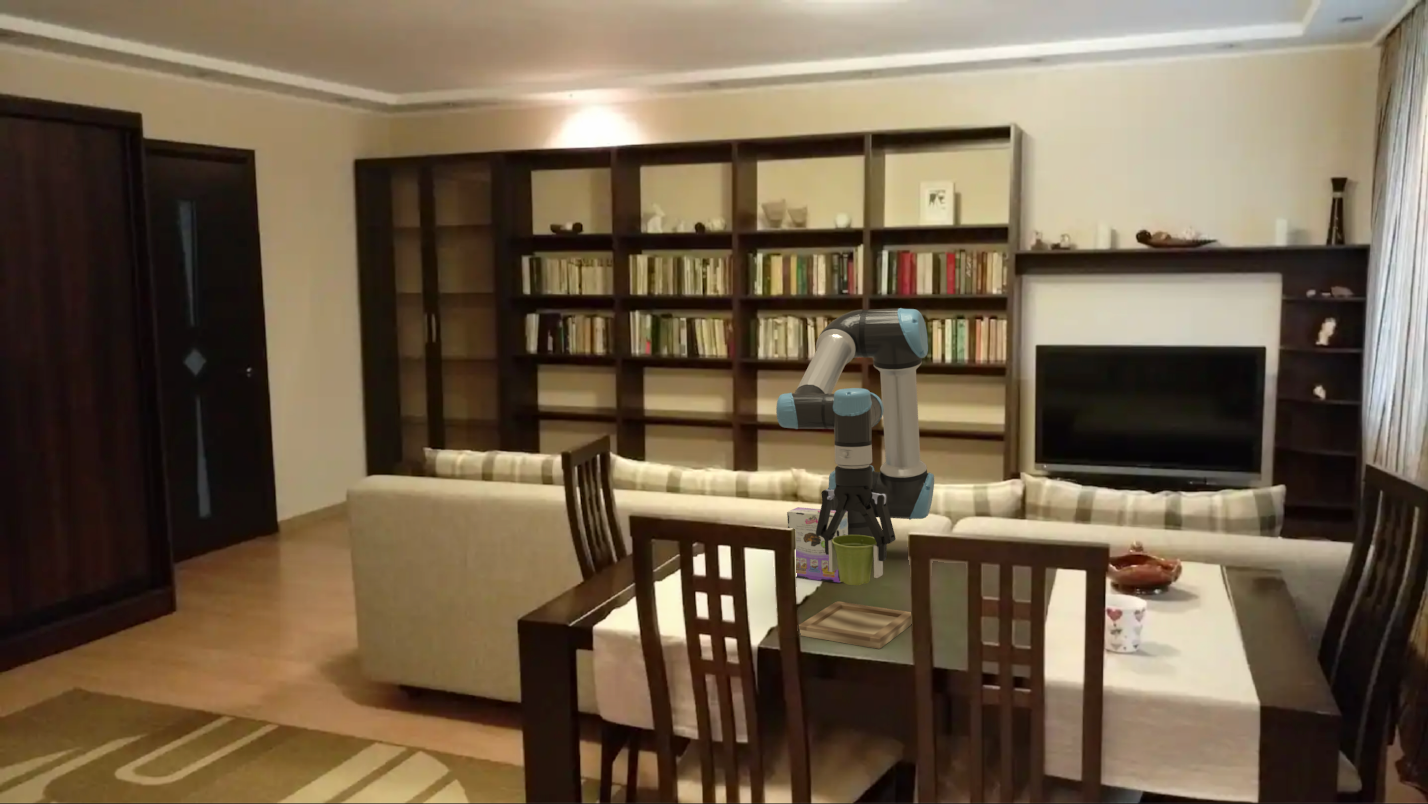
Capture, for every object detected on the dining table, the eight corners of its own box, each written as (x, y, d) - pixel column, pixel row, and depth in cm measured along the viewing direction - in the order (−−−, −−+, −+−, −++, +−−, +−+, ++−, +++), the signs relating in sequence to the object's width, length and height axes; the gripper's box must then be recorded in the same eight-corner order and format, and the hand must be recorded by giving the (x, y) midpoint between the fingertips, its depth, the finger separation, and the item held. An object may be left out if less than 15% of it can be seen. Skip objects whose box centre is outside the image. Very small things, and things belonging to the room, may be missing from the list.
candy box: (850, 577, 255) (849, 510, 253) (839, 583, 250) (838, 515, 248) (799, 570, 262) (797, 505, 260) (788, 576, 257) (786, 510, 255)
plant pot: (876, 589, 212) (877, 547, 210) (829, 586, 213) (829, 544, 212) (879, 576, 221) (879, 535, 220) (833, 573, 223) (834, 533, 221)
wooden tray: (837, 609, 231) (836, 601, 230) (914, 621, 221) (914, 612, 221) (797, 634, 215) (797, 625, 215) (879, 648, 206) (879, 638, 206)
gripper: (796, 464, 217) (799, 571, 219) (897, 471, 205) (898, 584, 208) (813, 458, 223) (816, 562, 226) (911, 465, 211) (913, 574, 214)
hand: (855, 572), depth 217 cm, fingers closed on plant pot, 9 cm apart
